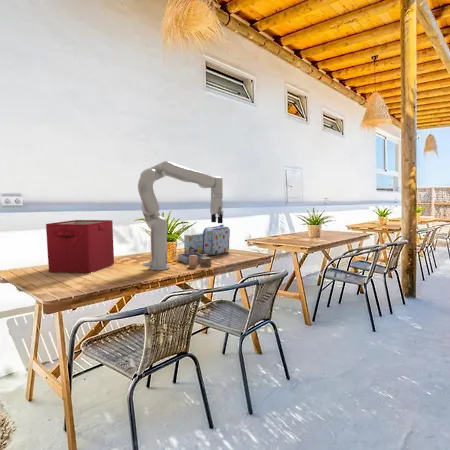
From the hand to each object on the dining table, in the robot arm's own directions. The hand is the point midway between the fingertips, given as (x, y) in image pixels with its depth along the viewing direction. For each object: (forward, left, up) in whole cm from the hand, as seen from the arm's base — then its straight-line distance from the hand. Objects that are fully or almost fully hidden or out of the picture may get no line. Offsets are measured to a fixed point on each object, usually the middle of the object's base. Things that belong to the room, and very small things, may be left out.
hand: (216, 222), depth 215 cm
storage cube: (-79, +24, -27) cm, 87 cm away
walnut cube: (-10, -5, -27) cm, 29 cm away
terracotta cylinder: (-18, -4, -26) cm, 32 cm away
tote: (-12, +13, -26) cm, 32 cm away
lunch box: (+15, +33, -27) cm, 45 cm away
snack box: (+2, +43, -27) cm, 51 cm away
